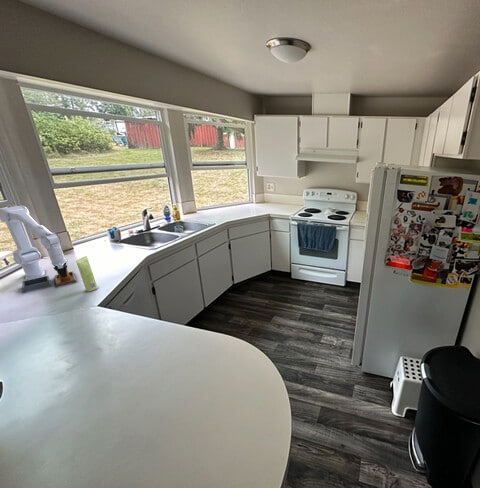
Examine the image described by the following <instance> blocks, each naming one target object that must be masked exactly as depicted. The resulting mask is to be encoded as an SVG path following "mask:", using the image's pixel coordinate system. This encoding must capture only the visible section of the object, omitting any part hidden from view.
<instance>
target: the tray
mask: <svg viewBox="0 0 480 488" xmlns="http://www.w3.org/2000/svg"><path fill="white" fill-rule="evenodd" d="M68 272H69V275H70V278H71V279H70V280H67V281H60V278H59V275H58V274H55V275H54V282H55V286H56V287H62V286H65V285H70V284H74V283H77V280H76V276H75V273H74V271H68Z"/></svg>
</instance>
